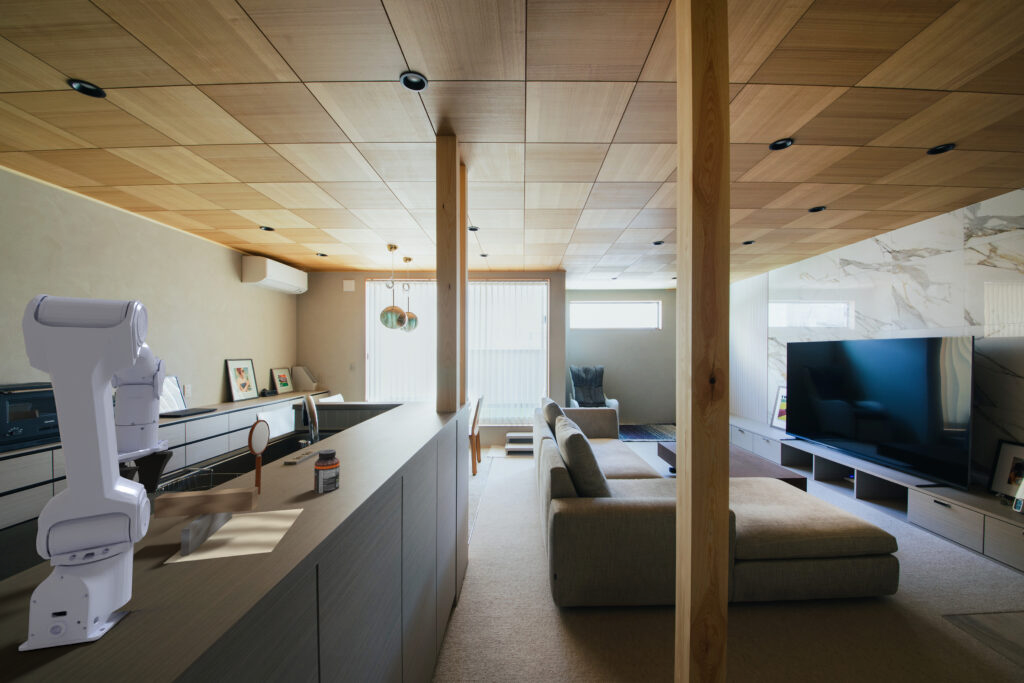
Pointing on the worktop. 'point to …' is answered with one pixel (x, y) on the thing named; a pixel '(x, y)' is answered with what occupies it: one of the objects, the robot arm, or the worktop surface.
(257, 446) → the magnifying glass
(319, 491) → the supplement bottle
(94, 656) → the worktop surface
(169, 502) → the walnut bar
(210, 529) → the board
